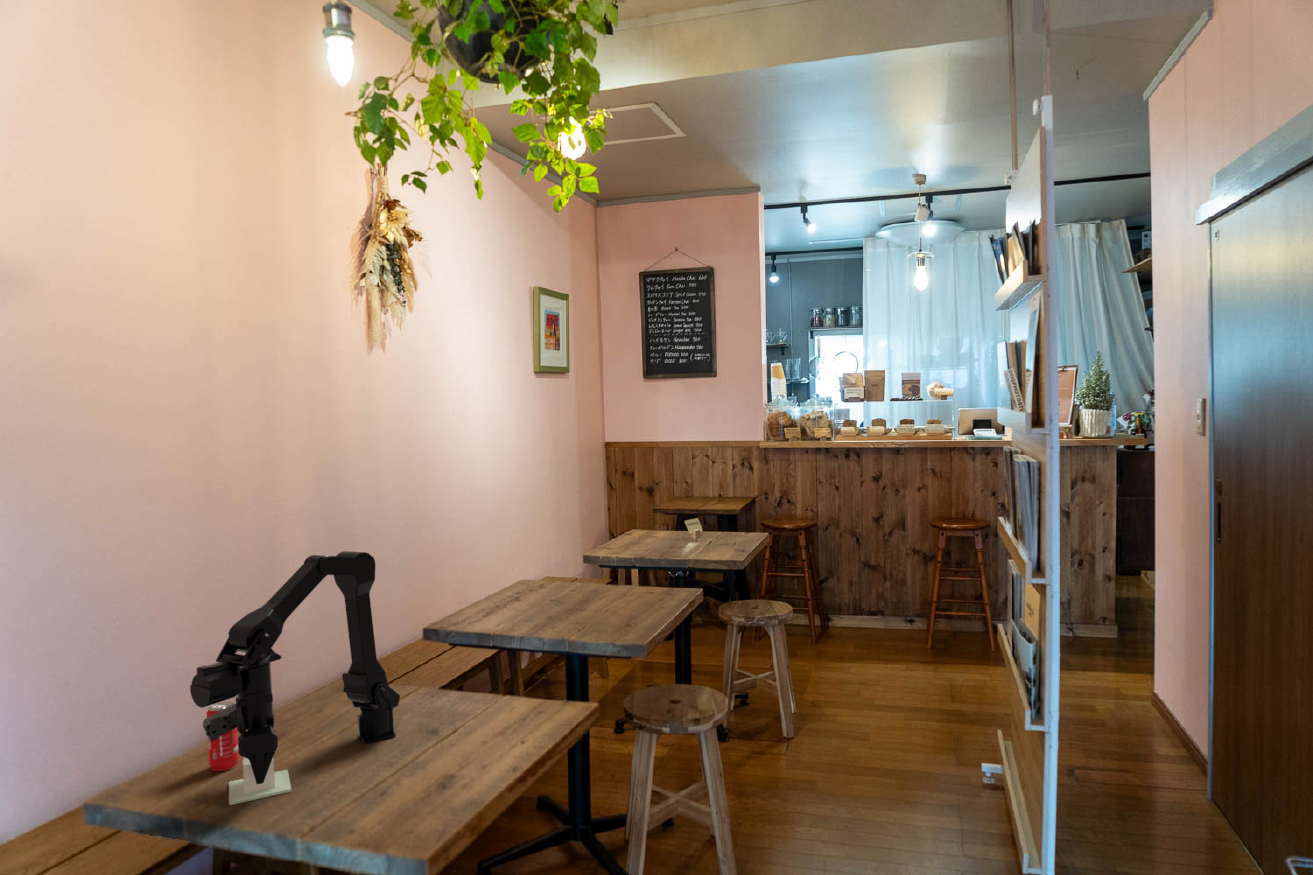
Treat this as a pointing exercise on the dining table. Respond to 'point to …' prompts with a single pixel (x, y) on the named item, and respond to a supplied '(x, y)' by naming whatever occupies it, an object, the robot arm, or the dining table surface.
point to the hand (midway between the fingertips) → (259, 774)
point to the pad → (239, 796)
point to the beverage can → (223, 744)
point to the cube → (249, 777)
